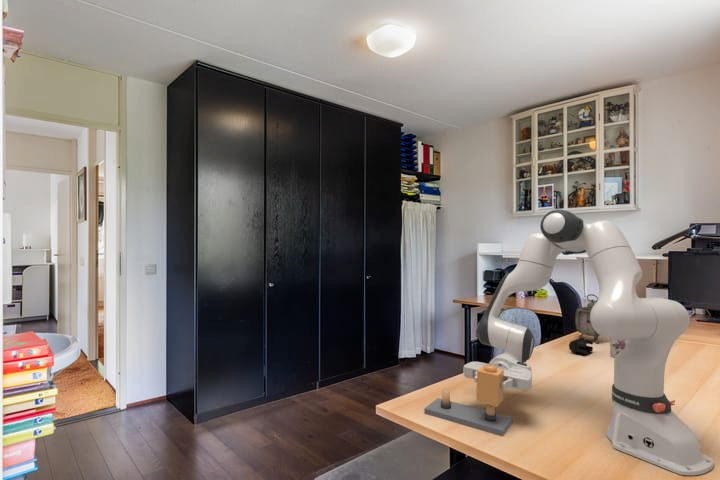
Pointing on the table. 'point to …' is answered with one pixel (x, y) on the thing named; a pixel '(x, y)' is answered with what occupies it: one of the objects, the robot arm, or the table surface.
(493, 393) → the orange toy brick
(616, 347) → the decorative jar
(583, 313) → the tabletop clock
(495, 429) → the mounting plate
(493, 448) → the table surface
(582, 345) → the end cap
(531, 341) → the robot arm
